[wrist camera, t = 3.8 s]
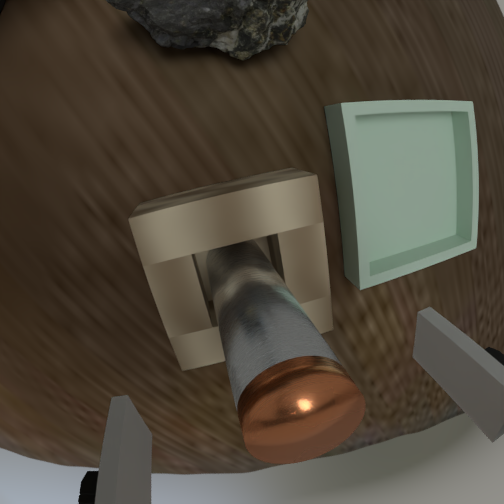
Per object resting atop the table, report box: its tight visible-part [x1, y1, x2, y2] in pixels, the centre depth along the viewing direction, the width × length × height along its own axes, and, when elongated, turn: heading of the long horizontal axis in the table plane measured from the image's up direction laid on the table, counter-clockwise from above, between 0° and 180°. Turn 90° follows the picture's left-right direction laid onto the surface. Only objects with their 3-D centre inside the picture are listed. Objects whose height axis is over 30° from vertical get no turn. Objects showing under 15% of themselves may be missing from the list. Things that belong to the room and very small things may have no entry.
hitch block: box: [128, 168, 333, 371], centre depth 24 cm, size 12×12×5 cm
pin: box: [206, 239, 365, 464], centre depth 17 cm, size 4×4×16 cm
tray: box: [324, 100, 479, 290], centre depth 25 cm, size 15×15×3 cm
